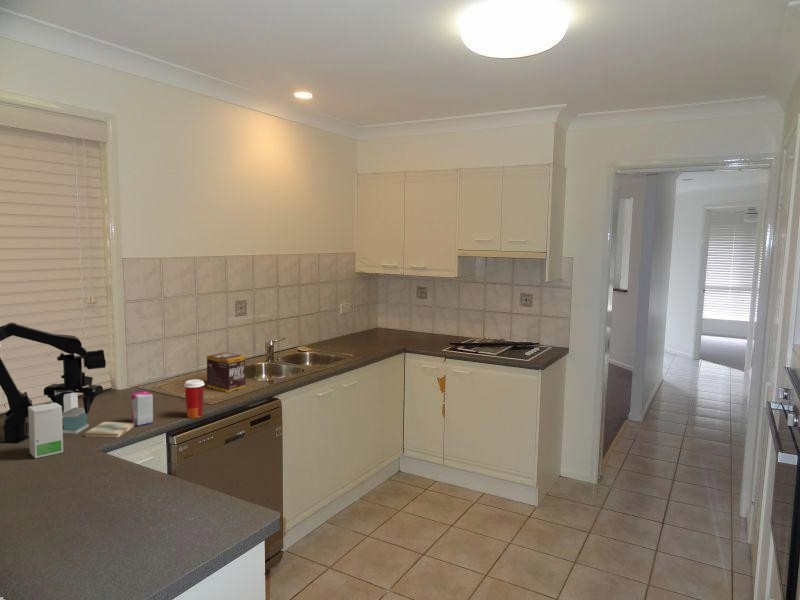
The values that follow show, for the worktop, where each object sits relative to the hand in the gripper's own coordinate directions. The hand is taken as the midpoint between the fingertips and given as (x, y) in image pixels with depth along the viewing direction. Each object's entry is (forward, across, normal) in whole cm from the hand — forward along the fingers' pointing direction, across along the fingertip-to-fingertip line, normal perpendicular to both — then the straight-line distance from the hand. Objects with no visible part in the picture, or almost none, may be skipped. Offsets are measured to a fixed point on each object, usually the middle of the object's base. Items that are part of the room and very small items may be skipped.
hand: (74, 413), depth 196 cm
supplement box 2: (+6, -34, -60) cm, 69 cm away
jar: (+6, +14, -15) cm, 21 cm away
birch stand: (+6, -13, 0) cm, 14 cm away
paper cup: (+6, -36, -19) cm, 41 cm away
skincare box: (+6, -4, +21) cm, 22 cm away
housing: (+6, 0, 0) cm, 6 cm away
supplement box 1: (+6, -20, -9) cm, 23 cm away
